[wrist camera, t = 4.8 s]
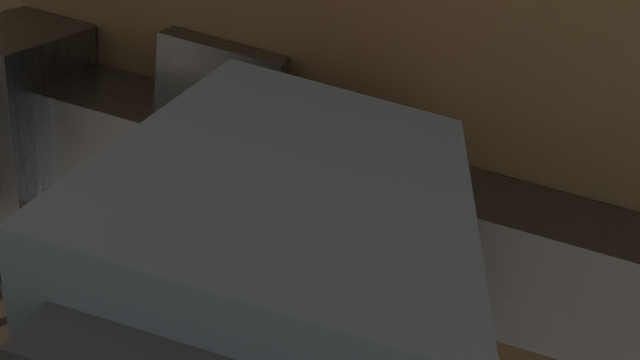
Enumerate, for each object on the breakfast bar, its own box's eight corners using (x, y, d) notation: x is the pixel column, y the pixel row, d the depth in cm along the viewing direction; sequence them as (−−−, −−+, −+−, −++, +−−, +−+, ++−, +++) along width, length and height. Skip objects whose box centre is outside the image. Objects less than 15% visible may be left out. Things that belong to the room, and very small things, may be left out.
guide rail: (1182, 295, 11) (1441, 426, 8) (952, 457, 14) (1085, 594, 11) (22, -15, 13) (-94, 5, 10) (38, 187, 16) (-48, 246, 13)
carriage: (459, 103, 10) (512, 447, 4) (370, 343, 14) (314, 746, 7) (247, 47, 10) (-65, 268, 4) (212, 295, 14) (15, 638, 7)
